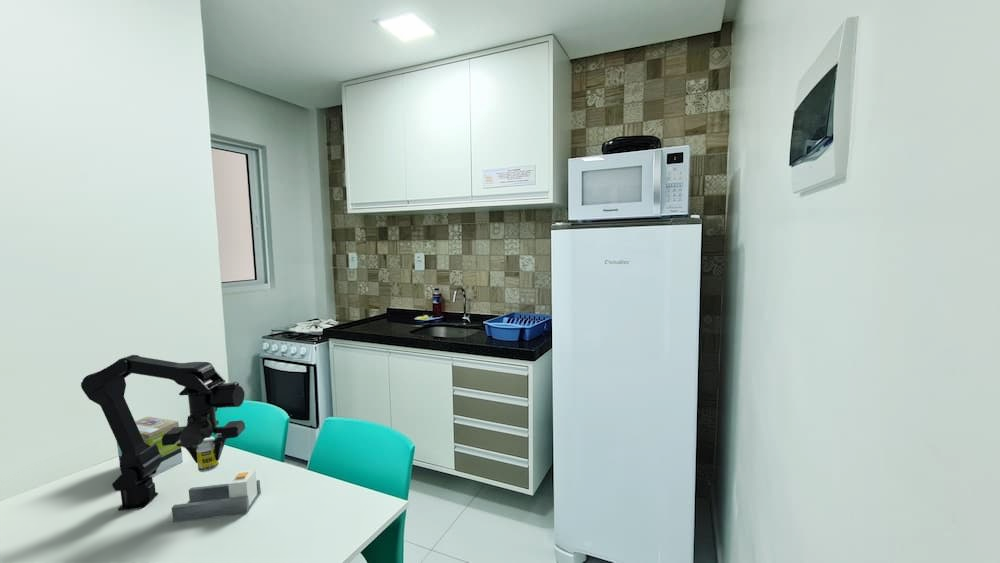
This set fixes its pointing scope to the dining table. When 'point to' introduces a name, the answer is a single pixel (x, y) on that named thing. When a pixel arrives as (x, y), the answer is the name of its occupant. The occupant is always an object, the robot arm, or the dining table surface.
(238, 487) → the seated module
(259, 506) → the dining table surface
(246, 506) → the grey tray
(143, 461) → the robot arm
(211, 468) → the supplement bottle
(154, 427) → the tea box
